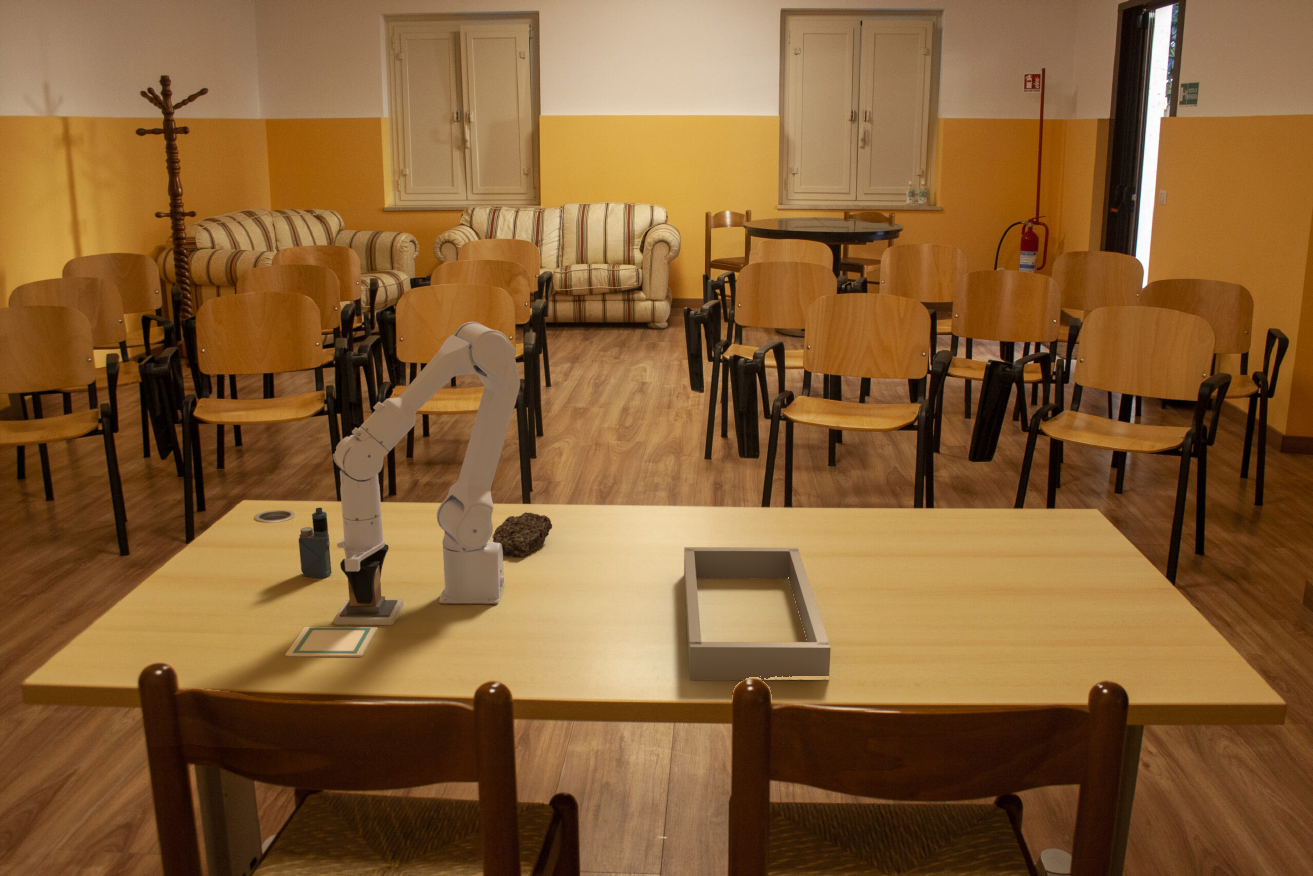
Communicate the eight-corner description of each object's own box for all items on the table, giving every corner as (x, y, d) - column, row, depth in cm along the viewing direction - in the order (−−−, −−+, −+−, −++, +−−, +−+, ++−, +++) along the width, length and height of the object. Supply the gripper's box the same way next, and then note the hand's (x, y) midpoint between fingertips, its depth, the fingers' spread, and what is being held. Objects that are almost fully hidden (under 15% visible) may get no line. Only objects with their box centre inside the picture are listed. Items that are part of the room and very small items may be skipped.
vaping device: (327, 578, 185) (322, 511, 182) (299, 576, 186) (292, 509, 183) (335, 573, 188) (329, 506, 184) (306, 570, 189) (300, 504, 185)
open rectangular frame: (796, 575, 187) (797, 547, 186) (828, 680, 152) (830, 647, 150) (684, 574, 187) (684, 547, 186) (689, 680, 152) (690, 647, 150)
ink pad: (403, 605, 175) (402, 598, 175) (393, 624, 168) (392, 617, 168) (346, 605, 175) (346, 598, 175) (334, 624, 168) (333, 616, 168)
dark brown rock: (521, 531, 208) (520, 506, 207) (561, 542, 202) (561, 516, 201) (478, 549, 199) (476, 523, 198) (519, 562, 193) (518, 534, 192)
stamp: (385, 602, 173) (382, 564, 171) (379, 613, 169) (376, 574, 168) (353, 602, 173) (350, 564, 171) (346, 612, 169) (343, 574, 168)
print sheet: (377, 629, 167) (377, 626, 167) (362, 656, 158) (361, 654, 158) (305, 628, 167) (304, 626, 167) (285, 656, 158) (285, 653, 158)
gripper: (348, 498, 174) (354, 578, 178) (321, 531, 160) (328, 616, 164) (393, 499, 174) (398, 578, 178) (369, 531, 160) (375, 617, 164)
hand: (367, 597), depth 171 cm, fingers closed on stamp, 3 cm apart
